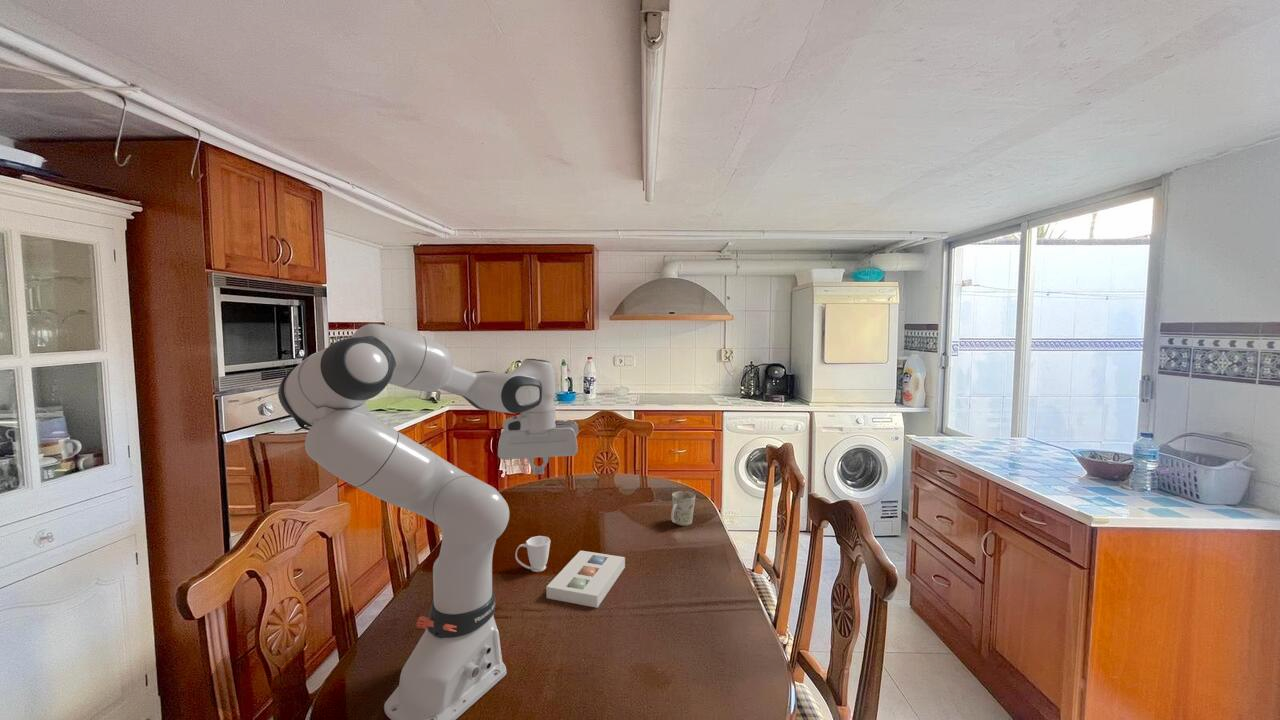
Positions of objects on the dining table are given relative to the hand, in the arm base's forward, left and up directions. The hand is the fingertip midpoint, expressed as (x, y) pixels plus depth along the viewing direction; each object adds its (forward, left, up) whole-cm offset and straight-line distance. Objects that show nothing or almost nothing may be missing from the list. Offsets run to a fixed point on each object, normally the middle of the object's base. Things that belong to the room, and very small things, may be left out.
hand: (538, 473), depth 121 cm
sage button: (+1, -11, -31) cm, 33 cm away
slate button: (+14, -11, -31) cm, 35 cm away
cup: (+9, +7, -31) cm, 33 cm away
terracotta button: (+7, -11, -31) cm, 33 cm away
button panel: (+7, -11, -31) cm, 33 cm away
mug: (+52, -27, -31) cm, 66 cm away
